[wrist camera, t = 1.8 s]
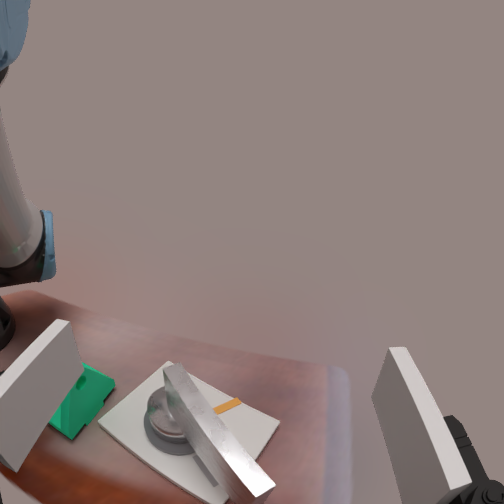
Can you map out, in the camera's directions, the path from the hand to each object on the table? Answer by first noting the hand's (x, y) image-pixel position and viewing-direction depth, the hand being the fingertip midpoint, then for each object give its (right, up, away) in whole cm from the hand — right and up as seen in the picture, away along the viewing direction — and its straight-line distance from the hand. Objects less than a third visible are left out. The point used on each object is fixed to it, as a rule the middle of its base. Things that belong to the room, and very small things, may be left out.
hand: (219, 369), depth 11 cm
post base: (-7, -20, +26) cm, 33 cm away
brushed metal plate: (-5, -20, +19) cm, 28 cm away
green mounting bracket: (-25, -18, +25) cm, 40 cm away
